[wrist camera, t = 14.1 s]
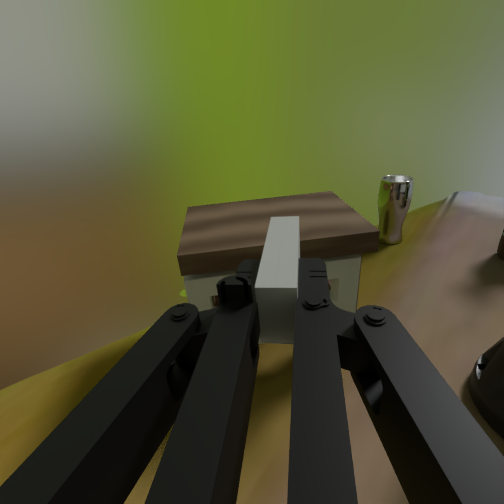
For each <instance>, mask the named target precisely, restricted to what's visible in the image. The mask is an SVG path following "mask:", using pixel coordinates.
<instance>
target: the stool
mask: <svg viewBox="0 0 504 504" xmlns="http://www.w3.org/2000/svg"><path fill="white" fill-rule="evenodd" d="M287 216H299V233H300V258H327V257H335V256H343V255H351V254H359V255H360V257H361V261H362V253H367V252H375V251H378V244H379V236H380V230H378V229H377V228H376V227H375V226H374V225H372V224H371V223H370V222H369V221H367V220H366V219H365V218H364V217H362V216H361V215H360V214H359V213H357V212H356V211H355V210H354V209H353V208H351V207H350V206H349V205H348V204H347V203H345V202H344V201H343V200H342V199H340V198H339V197H338V196H337V195H335V194H334V193H333V192H332V191H328V192H318V193H309V194H300V195H291V196H283V197H274V198H264V199H256V200H247V201H238V202H229V203H221V204H211V205H202V206H193V207H188V209H187V213H186V218H185V222H184V227H183V232H182V236H181V240H180V245H179V249H178V254H177V258H178V262H179V267H180V271H181V275H182V276H185V275H193V274H201V273H209V272H217V271H225V270H233V269H237V268H238V265H239V264H240V263H241V262H243V261H244V260H245V259H261V258H262V253H263V249H264V245H265V241H266V236H267V232H268V228H269V224H270V219H271V217H287ZM360 270H361V264H360ZM359 280H360V274H359ZM328 286H329V291H330V290H331V279H330V280H328ZM358 290H359V283H358ZM357 299H358V293H357ZM212 301H213V307H217V306H218V305H219V298H218V295H215V296H212ZM356 309H357V303H356Z"/></svg>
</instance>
